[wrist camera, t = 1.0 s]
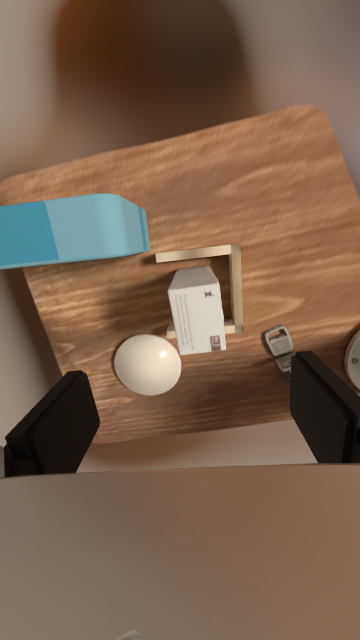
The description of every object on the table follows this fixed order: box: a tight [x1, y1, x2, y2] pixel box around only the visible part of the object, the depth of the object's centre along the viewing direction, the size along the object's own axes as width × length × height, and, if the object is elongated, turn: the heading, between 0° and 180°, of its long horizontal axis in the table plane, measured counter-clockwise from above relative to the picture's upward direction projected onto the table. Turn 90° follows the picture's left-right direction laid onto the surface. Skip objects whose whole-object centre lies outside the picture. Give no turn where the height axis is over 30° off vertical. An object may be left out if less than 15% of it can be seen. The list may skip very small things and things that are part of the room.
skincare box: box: [168, 265, 226, 355], centre depth 25 cm, size 6×4×12 cm
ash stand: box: [155, 243, 243, 339], centre depth 29 cm, size 10×10×2 cm
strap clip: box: [264, 325, 295, 382], centre depth 31 cm, size 8×3×4 cm, turn 27°
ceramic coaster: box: [114, 333, 181, 395], centre depth 34 cm, size 10×10×1 cm
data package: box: [0, 193, 151, 269], centre depth 24 cm, size 12×4×12 cm, turn 96°
